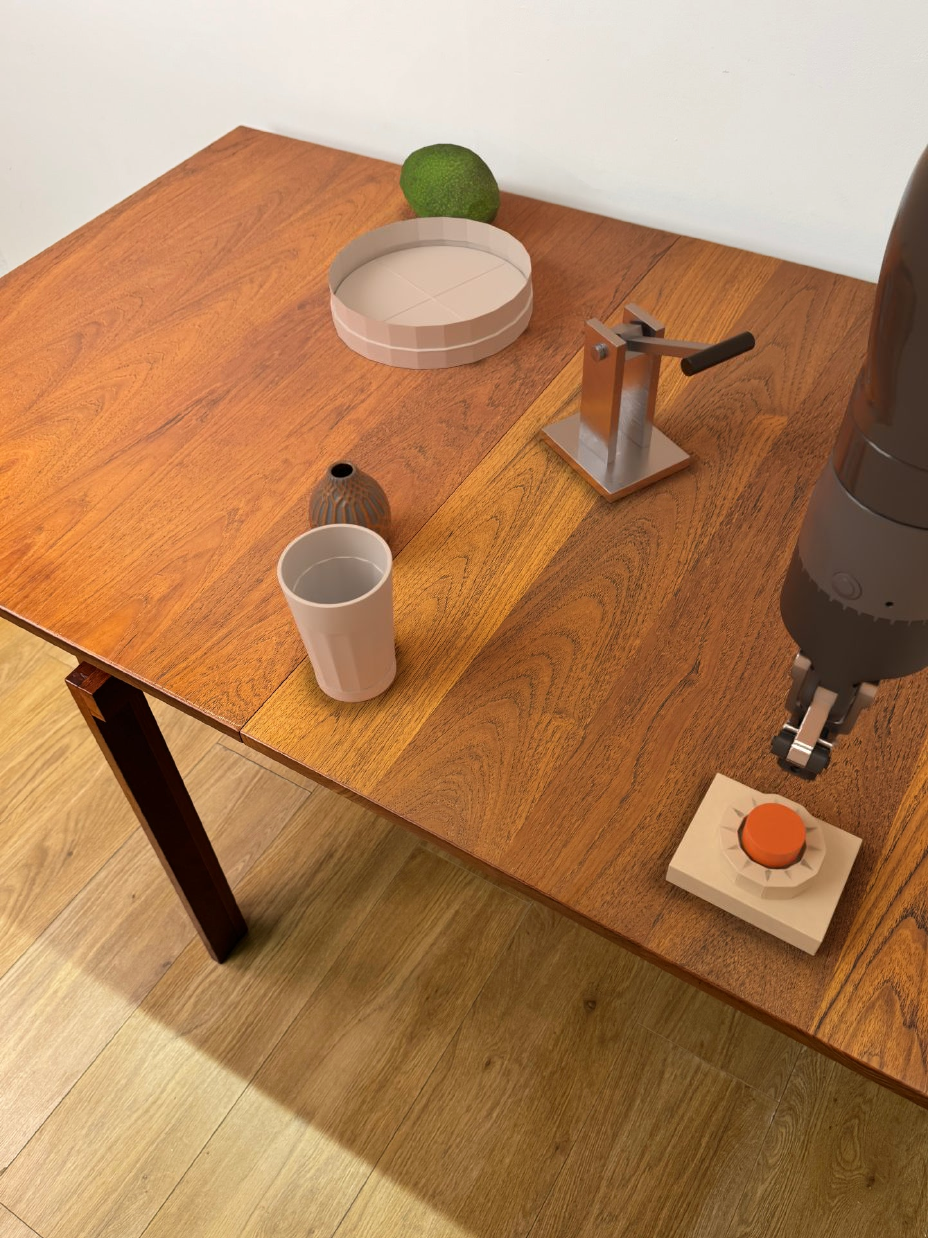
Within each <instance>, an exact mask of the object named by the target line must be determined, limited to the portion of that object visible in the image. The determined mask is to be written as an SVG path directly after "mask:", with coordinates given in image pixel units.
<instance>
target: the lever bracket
mask: <svg viewBox="0 0 928 1238" xmlns="http://www.w3.org/2000/svg"><path fill="white" fill-rule="evenodd" d="M622 323H623V324H634V325H641V327H642V333H643V336H645V337H654V338H663V339H665V333H666V326H665V324H663V322H662V323H661V321H659V320H658V319H656V318H655V317H654V316H652V315H651V314H650V313H649V312H647V311H646V310H644V309H643V308H641V307H640V306H639V305H637V303H635V302H631V303H628V304H626V305H624V306H623V314H622ZM609 328H610V327H608V326H607V325H605V324H604V323H602V321H600V320H599V319H597V318H596V317H593V318H591V319H588V320H586V321H585V326H584V329H585V330H584V343H583V344H584V345H583V359H582V360H583V362H582V375H581V377H582V378H581V394H580V395H581V396H580V411H578V412H576V413H573V414H571V415H569V416H566V417H564V418H562V419H560V420H557V421H554V422H553V423H550V424H548V425H546V426H543V427H541V428H540V439H542V441H544V442H545V443H546V445H547V446H548V447H550V448H551V449H552V450H553V451H554V452H555V453H556V454H557V455H558V456H559V457H561V459H562V460H563V461H565V462H566V463H567V464H568V465H569V466H570V467H571V469H573V470H574V471H575V472H576V473H577V474H578V475H579V476H580V477H581V478H583V479H584V480H585V481H586V482H587V483H588V484H589V485H590V486H591V487H592V488H593V489H594V490H595V491H597V493H598V494H599V495H600V496H601V497H603V499H604V500H606V502H608V504H612V503H614V502H617V501H619V500H621V499H623V498H625V497H627V496H630V495H631V494H633V493H635V492H638V491H639V490H641V489H644V488H646V487H648V486H650V485H652V484H654V483H656V482H659V481H661V480H662V479H664V478H667V477H669V476H671V475H673V474H675V473H677V472H680V471H682V470H683V469H686V468H688V467H690V461H691V456H690V455H689V454H688V453H687V452H686V451H684V449H682V448H681V447H679V446H678V444H676V443H675V442H674V441H673V440H672V439H670V438H669V437H668V436H667V435H665V434H664V433H663V432H662V431H660V429H658V428H657V427H656V426H655V425H654V419H655V412H656V404H657V398H658V397H657V396H658V388H659V381H660V374H661V365H662V355H655V354H647V353H645V354H642V355H640V356H638V357H635V358H633V359H630V360H628V361H625V354H626V344H627V343H626V342H625V341H624V340H623V339H621V338H620V337H619V336H618V335H616V334H615V333H614V332H613V331H611V330H610V329H609Z"/></svg>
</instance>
